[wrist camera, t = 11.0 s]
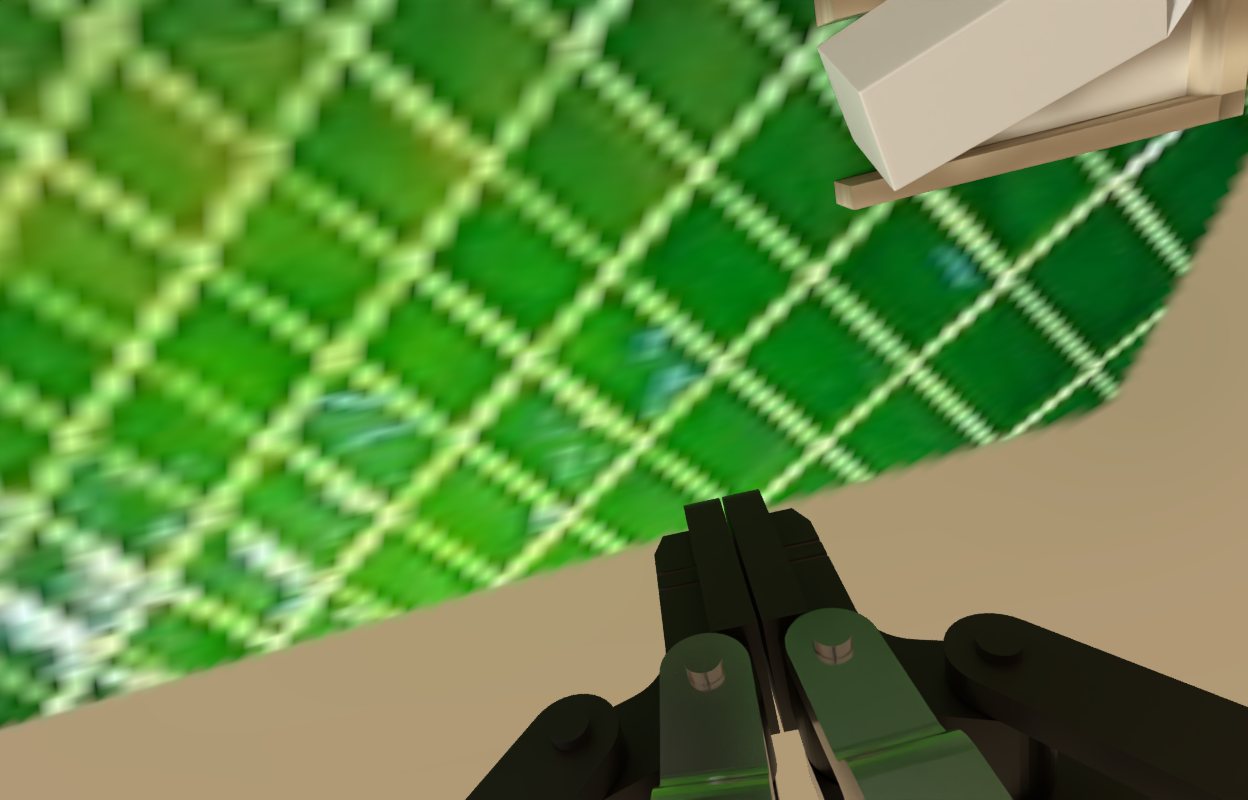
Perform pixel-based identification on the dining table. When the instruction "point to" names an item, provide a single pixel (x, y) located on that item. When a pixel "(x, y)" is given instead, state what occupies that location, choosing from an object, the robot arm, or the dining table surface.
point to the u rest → (1095, 102)
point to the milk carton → (973, 69)
